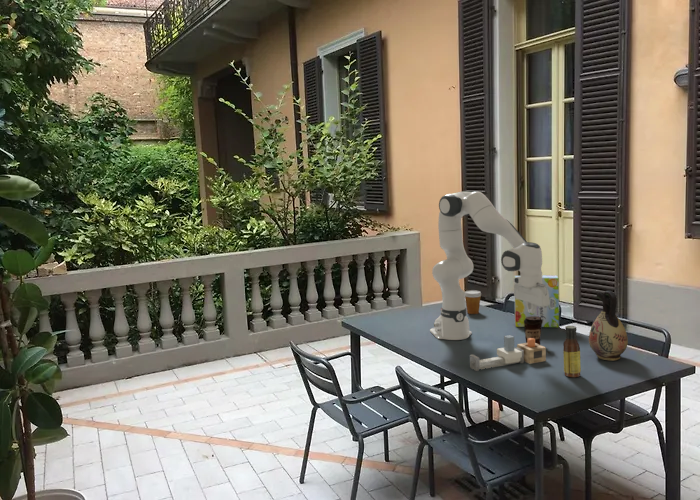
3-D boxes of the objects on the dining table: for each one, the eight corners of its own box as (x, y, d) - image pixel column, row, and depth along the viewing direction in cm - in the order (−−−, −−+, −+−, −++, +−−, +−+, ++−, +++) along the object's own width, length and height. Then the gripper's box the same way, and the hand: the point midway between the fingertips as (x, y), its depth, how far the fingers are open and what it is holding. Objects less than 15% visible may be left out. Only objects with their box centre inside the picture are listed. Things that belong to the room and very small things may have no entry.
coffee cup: (543, 348, 276) (543, 320, 275) (524, 347, 278) (524, 320, 276) (541, 342, 285) (541, 315, 283) (523, 342, 287) (523, 315, 285)
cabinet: (517, 357, 266) (517, 344, 265) (532, 354, 268) (532, 341, 267) (530, 363, 257) (530, 350, 256) (545, 361, 259) (546, 347, 259)
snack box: (558, 323, 315) (558, 274, 311) (559, 328, 306) (559, 278, 302) (514, 322, 320) (514, 274, 316) (514, 327, 312) (514, 277, 308)
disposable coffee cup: (471, 309, 350) (471, 289, 348) (485, 312, 343) (484, 291, 341) (460, 313, 344) (460, 292, 342) (474, 315, 337) (474, 294, 335)
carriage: (496, 358, 262) (496, 335, 260) (510, 356, 264) (510, 332, 262) (507, 364, 254) (507, 340, 252) (521, 361, 256) (521, 337, 255)
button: (525, 349, 263) (525, 338, 262) (532, 348, 264) (532, 337, 263) (530, 351, 260) (530, 340, 259) (536, 350, 261) (536, 339, 260)
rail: (470, 367, 256) (469, 354, 255) (516, 359, 263) (516, 347, 262) (476, 371, 251) (476, 358, 250) (523, 362, 258) (523, 350, 258)
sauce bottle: (583, 374, 242) (583, 326, 239) (576, 379, 237) (577, 330, 234) (566, 371, 246) (567, 323, 243) (560, 375, 242) (560, 327, 239)
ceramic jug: (582, 353, 268) (582, 286, 263) (616, 350, 269) (617, 284, 264) (600, 365, 251) (601, 294, 246) (636, 363, 252) (638, 292, 247)
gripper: (553, 284, 249) (553, 317, 251) (523, 276, 268) (523, 307, 270) (540, 286, 247) (540, 319, 249) (511, 277, 266) (511, 308, 268)
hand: (531, 312), depth 259 cm, fingers closed
